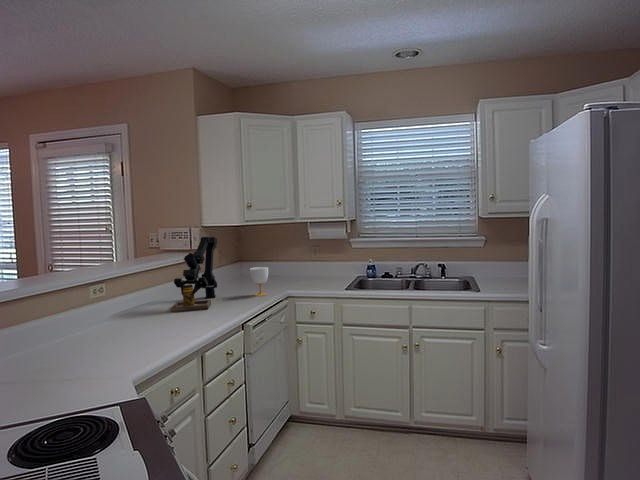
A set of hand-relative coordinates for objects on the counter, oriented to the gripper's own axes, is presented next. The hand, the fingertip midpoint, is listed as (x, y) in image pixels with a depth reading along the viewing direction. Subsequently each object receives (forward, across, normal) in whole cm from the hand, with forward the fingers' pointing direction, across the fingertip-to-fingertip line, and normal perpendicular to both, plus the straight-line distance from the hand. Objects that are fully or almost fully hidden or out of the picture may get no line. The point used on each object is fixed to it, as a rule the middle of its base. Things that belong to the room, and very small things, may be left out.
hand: (187, 294), depth 264 cm
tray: (+4, +1, +8) cm, 9 cm away
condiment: (+4, -1, +6) cm, 7 cm away
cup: (-20, +32, +32) cm, 50 cm away
